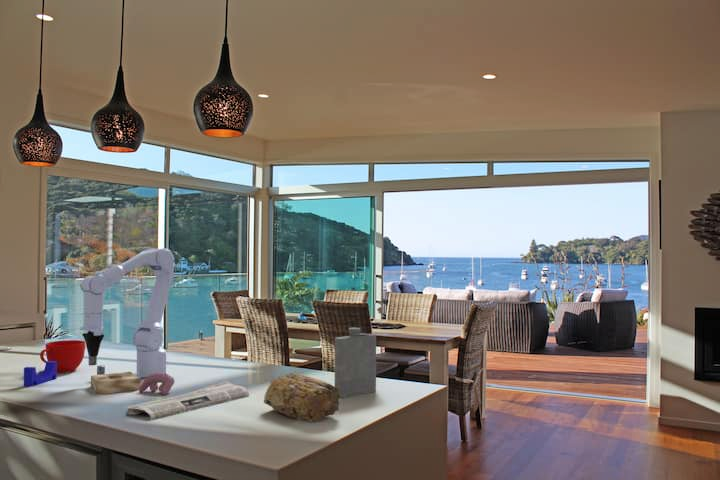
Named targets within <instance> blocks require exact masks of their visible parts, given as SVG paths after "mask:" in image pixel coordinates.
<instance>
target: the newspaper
mask: <svg viewBox="0 0 720 480" xmlns="http://www.w3.org/2000/svg"><path fill="white" fill-rule="evenodd" d="M249 396H250V393H249V391H248V389H247V388H246V387H244V386H241V385H237V384H233V383H231V382H230V381H229V380H225V381H222V382H219V383H215V384H212V385H209V386H206V387H204V388H203V387H202V388H200V389H197V390H193V391H191V392H186V393H184V394H181V395H176V396H172V397H171V396H170V397H166V398H163V399H157V400H153V401H148V402H147V401H146V402H142V403H137V404H134V405H129V406H127V408H128V409H127V414H128V415H137V414H138V415H139V414H142V413H147V414H148V415H149V416H150V418H149V420H150V421H153V420H156V419H161V418H164V417H168V416H173V415H177V414H180V412H182V413H185V412H184V411H186V412H189V411H188V410H190V411H193V410H192V409H194V410H197V408H198V409H202V408H205V406H206V407H209V405H210V406H214V405H218V404H221V403H220V402H222V403H225V401H226V402H229V400H230V401H235V400H238V399H242V398H245V397H249ZM217 403H218V404H217ZM213 404H214V405H213ZM201 407H202V408H201ZM176 413H177V414H176Z"/></svg>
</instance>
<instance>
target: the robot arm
mask: <svg viewBox="0 0 720 480" xmlns="http://www.w3.org/2000/svg"><path fill="white" fill-rule="evenodd" d="M174 263H175V256H174V255H173V253H172V251H171V250H170V249H169V248H152V247H151V248H146V249H145V250H142V251H141V252H139V253H137V254H136V255H134V256H132V257H131V258H130V259H128V260H126V261H124V262H122V263H120V264H115V263H114V264H107V265H106V268H103V269H101V270H100V271H95V272H94V275H88V276H85V277H84V278H83V279H82V281H81V284H80V285H79V287H80V290H81V291H82V294H83V326H82V327H81V326H80V327H79V331H86V332H84V333H81V335H82V337H83V340H84V341H85V347H86V351H87V355H88V356H89V354H90V357H93V356H97V357H98V356H99V352H100V347H101V343H102V341H103V339H104V337H105V334H104V333H102V331H103V330H104V293H105V292H106V291H107V289H108V288H110V287H111V286H112V285H114V284H116V283H118V282H121V280H123V279H124V276H125V274H127V273H129V272H132V271H134V270H135V269H138V268H139V267H142V266H145V265H146V266H147V267H148V268H149V269H150V270H151V271H152V272H153V274H154V275H155V276H156V279H155V281H154V286H153V289H152V291H151V292H152V293H151V296H150V299H149V302H148V303H149V304H148V305H147V310H146V312H145V317H144V320H142V321H141V323H140V324H138V327H137V329H136V331H135V332H134V333H133V336H132V343H133V345H134V346H135V349H136V372H132V373H133V374H134V375H136V376H138V377H139V378H140V379H141V378H146V377H147V376H148V375H149V374H150V373H151V374H154V373H165V374H167V354H166V350H165V348H161V346H162V345H163V343H164V336H163V335H164V328H163V326H162V323H161V322H162V318H163V315H164V311H165V308H166V304H167V302H168V297H169V294H170V291H171V287H172V284H173V281H174V276H175V270H174Z"/></svg>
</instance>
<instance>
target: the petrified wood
mask: <svg viewBox="0 0 720 480" xmlns="http://www.w3.org/2000/svg"><path fill="white" fill-rule="evenodd" d="M339 397H340V395H339V391H338V389H337V388H336V387H335V385H332V384H331V383H328V382H326V381H323V380H320V379H318V378H314V377H311V376H307V375H304V374H300V373H292V372H291V373H290V374H287V375H285V376H283V375H282V376H278V377H277V378H275V379H273V380H271V381H270V384H269V385H268V387H267V388H266V392H265V393H264V397H263V403H264V404H265V405H268V406H269V407H271V408H272V410H273V409H274V410H275V411H277V412H278V413H279V414H282V415H285V416H288V417H289V418H294V417H296V418H295V419H297V418H298V419H297V420H300V421H309V420H311V421H310V422H317V421H318V422H319V421H321V420H322V421H323V420H325V419H326V417H330V416H333V415H335V413H337V412H338V411H339V405H340V401H339ZM291 416H292V417H291Z"/></svg>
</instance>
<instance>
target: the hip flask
mask: <svg viewBox="0 0 720 480" xmlns="http://www.w3.org/2000/svg"><path fill="white" fill-rule="evenodd" d="M360 332H361V327H349V328H348V333H349V335H345V336H344V335H343V336H340V337H339V336H338V337H335V338H334V387H336V388H337V389H338V391H339V395H340V397H339V399H346V398H349V397H353V396H358V395H363V394H368V393H375V392H377V333H360ZM339 399H338V400H339Z"/></svg>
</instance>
